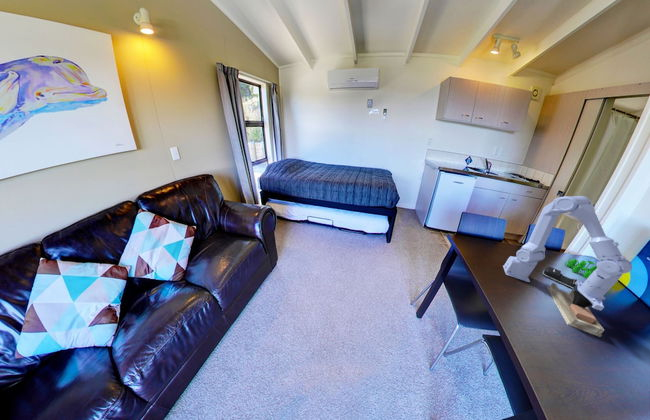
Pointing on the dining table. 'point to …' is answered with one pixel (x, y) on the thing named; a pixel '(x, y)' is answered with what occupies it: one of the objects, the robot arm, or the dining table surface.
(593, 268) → the green irregular lump
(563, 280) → the battery charger
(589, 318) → the block
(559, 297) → the chute
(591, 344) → the dining table surface
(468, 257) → the dining table surface
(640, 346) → the dining table surface
